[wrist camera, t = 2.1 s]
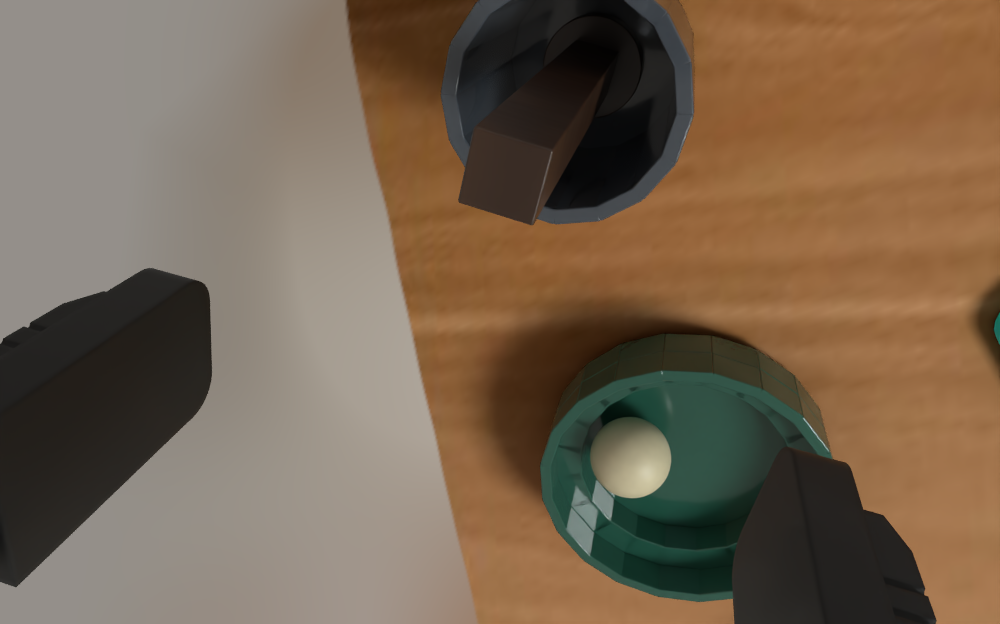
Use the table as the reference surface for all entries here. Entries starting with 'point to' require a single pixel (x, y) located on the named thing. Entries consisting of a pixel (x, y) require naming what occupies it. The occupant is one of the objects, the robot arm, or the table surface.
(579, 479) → the bowl
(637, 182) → the crock
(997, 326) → the handheld game console
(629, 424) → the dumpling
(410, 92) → the table surface
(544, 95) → the dark brown wooden bar
